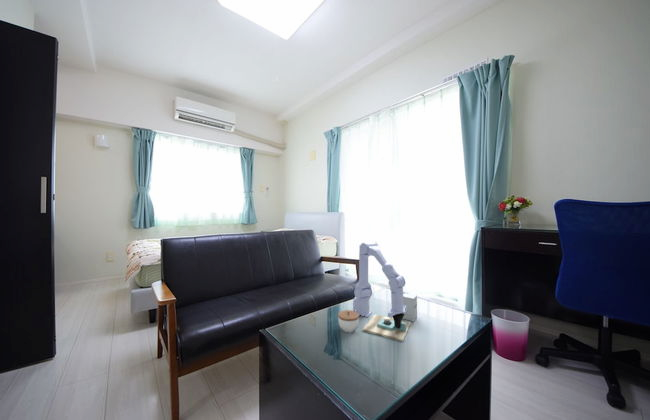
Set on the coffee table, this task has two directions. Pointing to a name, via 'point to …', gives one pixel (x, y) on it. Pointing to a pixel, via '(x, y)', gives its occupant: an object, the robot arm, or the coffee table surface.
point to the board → (393, 334)
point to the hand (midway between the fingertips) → (397, 327)
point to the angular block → (392, 326)
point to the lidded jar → (348, 320)
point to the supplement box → (410, 306)
